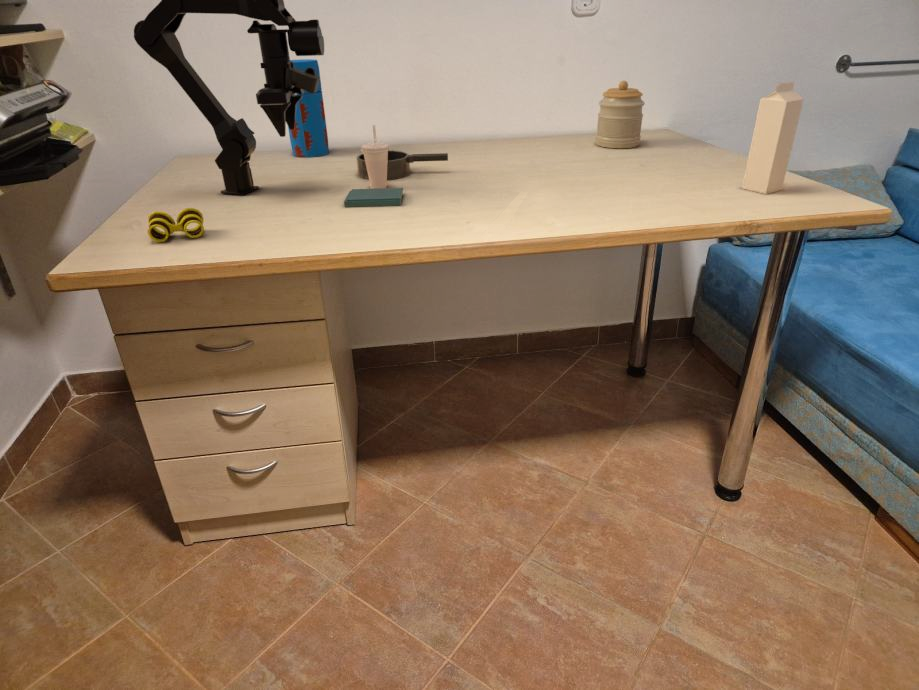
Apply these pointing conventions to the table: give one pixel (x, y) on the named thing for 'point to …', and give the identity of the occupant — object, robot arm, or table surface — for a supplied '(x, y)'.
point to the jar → (620, 117)
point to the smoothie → (376, 162)
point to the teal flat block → (374, 197)
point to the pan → (388, 165)
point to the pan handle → (428, 157)
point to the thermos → (309, 119)
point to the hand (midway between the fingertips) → (287, 132)
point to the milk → (772, 139)
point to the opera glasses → (169, 224)
